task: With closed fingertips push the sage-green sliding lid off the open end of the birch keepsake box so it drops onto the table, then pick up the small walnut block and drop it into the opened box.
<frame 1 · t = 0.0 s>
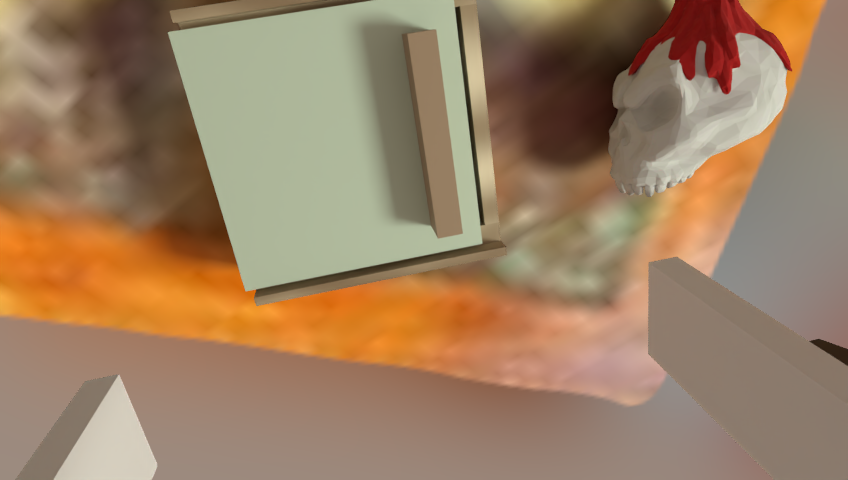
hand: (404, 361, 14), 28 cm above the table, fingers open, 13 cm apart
lid: (342, 147, 34), point 5 cm above the table, touching keepsake box
candle: (661, 76, 42), on the table
keepsake box: (354, 131, 39), on the table
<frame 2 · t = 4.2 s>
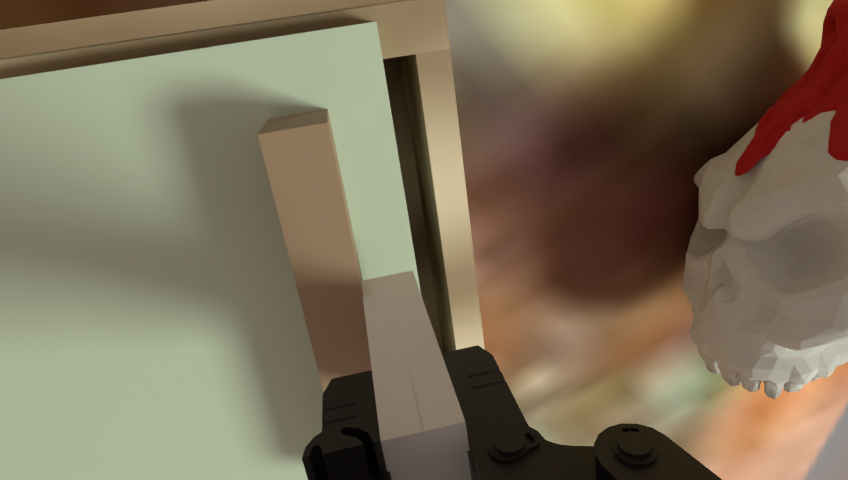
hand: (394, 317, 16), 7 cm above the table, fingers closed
lid: (168, 331, 17), point 5 cm above the table, touching gripper
candle: (770, 159, 25), on the table
keepsake box: (239, 261, 22), on the table
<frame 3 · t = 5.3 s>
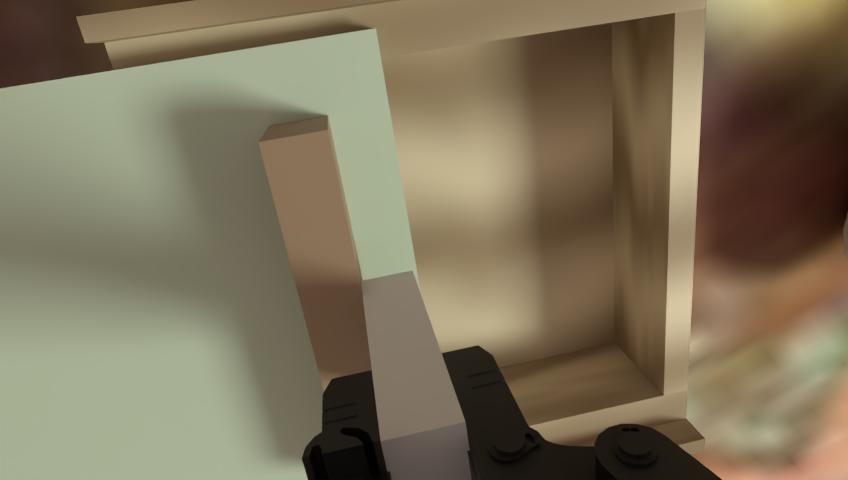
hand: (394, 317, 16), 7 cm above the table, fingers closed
lid: (170, 336, 17), point 5 cm above the table, touching gripper, keepsake box
keepsake box: (431, 223, 23), on the table
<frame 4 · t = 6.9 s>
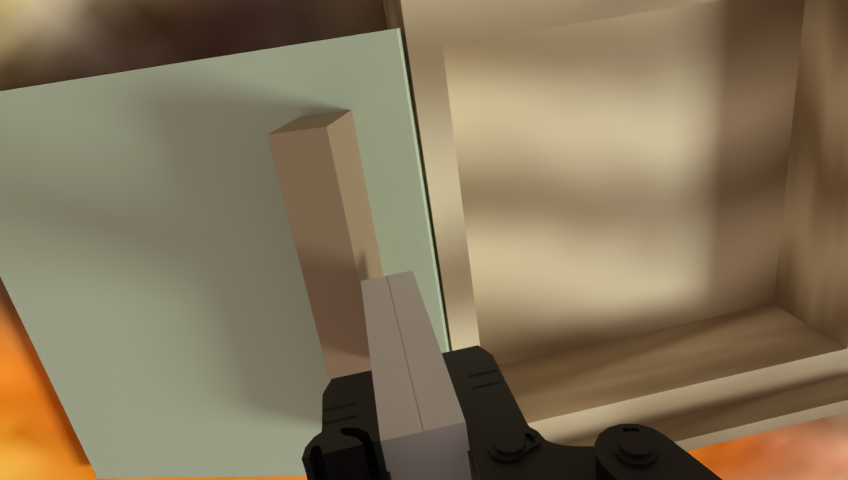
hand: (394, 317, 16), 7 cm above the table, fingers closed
lid: (223, 293, 20), point 2 cm above the table, tilted 17°
keepsake box: (611, 186, 24), on the table
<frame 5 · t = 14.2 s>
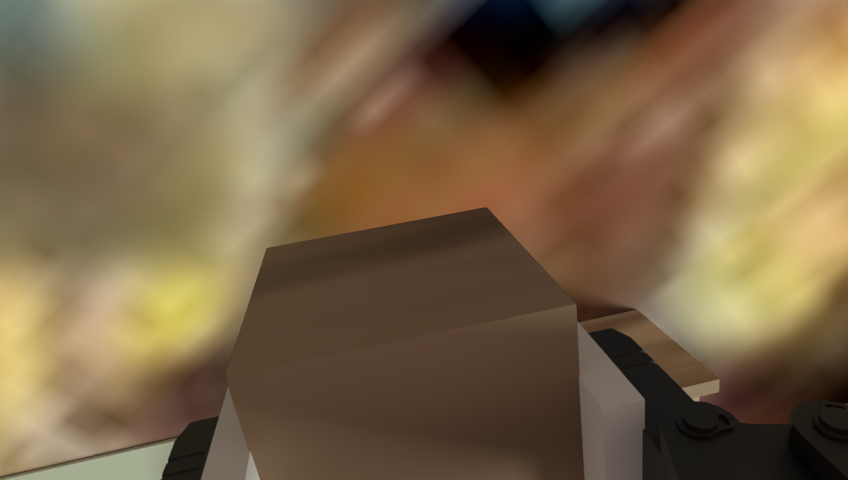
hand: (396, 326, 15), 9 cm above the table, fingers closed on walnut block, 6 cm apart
walnut block: (396, 324, 16), point 8 cm above the table, touching gripper
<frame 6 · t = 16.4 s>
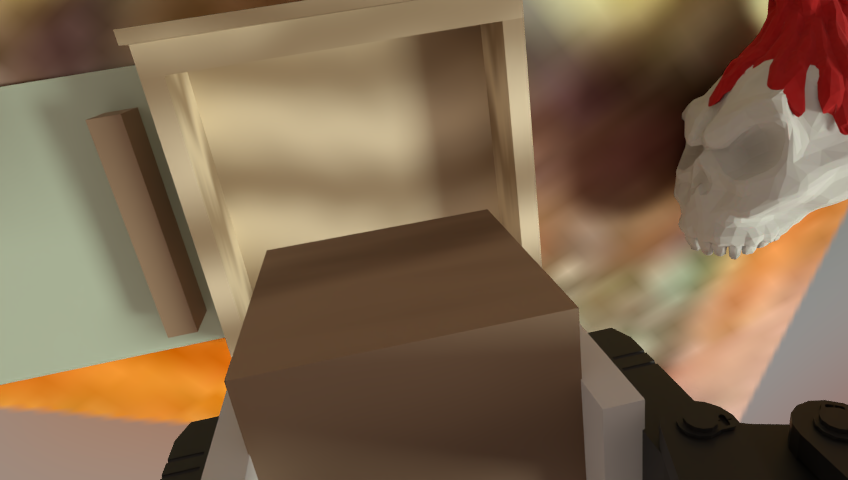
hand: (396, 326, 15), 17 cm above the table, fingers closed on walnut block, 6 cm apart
walnut block: (396, 326, 16), point 17 cm above the table, touching gripper
lid: (63, 233, 30), on the table
candle: (738, 103, 34), on the table
keepsake box: (361, 173, 31), on the table
when the fingers open (6 cm above the table, at t = 18.7 s): walnut block drops 4 cm, resting on keepsake box.
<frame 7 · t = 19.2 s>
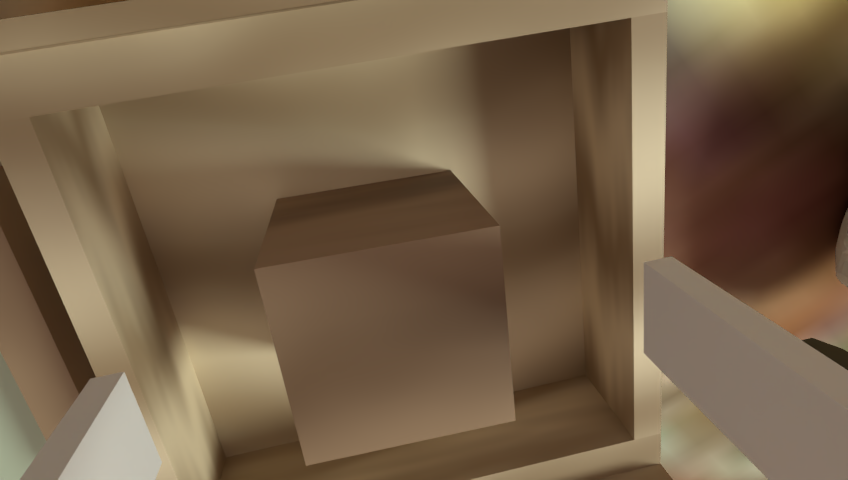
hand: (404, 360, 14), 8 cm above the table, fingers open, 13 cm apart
walnut block: (378, 263, 20), point 1 cm above the table, touching keepsake box
keepsake box: (379, 249, 21), on the table
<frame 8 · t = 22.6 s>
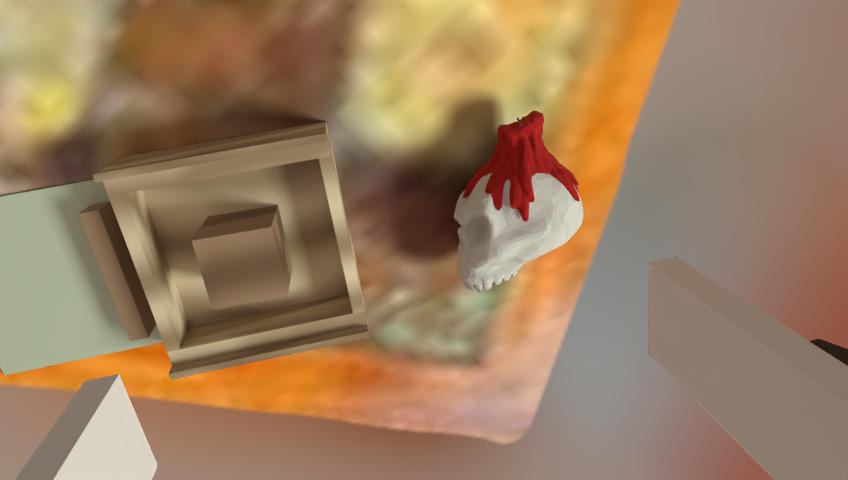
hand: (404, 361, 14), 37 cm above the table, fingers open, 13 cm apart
walnut block: (251, 242, 49), point 1 cm above the table, touching keepsake box
lid: (64, 275, 49), on the table
candle: (503, 188, 52), on the table
keepsake box: (253, 237, 50), on the table
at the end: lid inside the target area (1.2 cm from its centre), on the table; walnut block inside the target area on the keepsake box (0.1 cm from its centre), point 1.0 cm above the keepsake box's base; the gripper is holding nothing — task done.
